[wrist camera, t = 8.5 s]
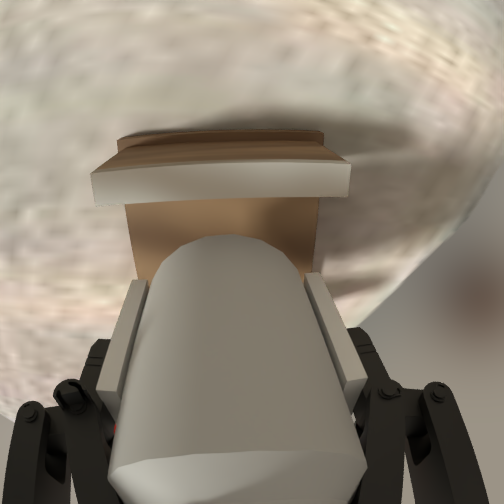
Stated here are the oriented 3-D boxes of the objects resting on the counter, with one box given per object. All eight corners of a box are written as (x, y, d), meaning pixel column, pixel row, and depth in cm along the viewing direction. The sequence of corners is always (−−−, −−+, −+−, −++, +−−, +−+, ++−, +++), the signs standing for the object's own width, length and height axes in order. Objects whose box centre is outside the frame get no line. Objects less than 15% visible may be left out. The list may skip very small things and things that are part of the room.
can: (329, 284, 16) (424, 507, 6) (234, 363, 19) (252, 559, 8) (217, 192, 13) (220, 513, 3) (126, 300, 16) (68, 530, 5)
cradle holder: (121, 137, 17) (78, 163, 12) (319, 131, 18) (363, 153, 13) (151, 319, 24) (138, 384, 18) (302, 312, 25) (323, 375, 19)
